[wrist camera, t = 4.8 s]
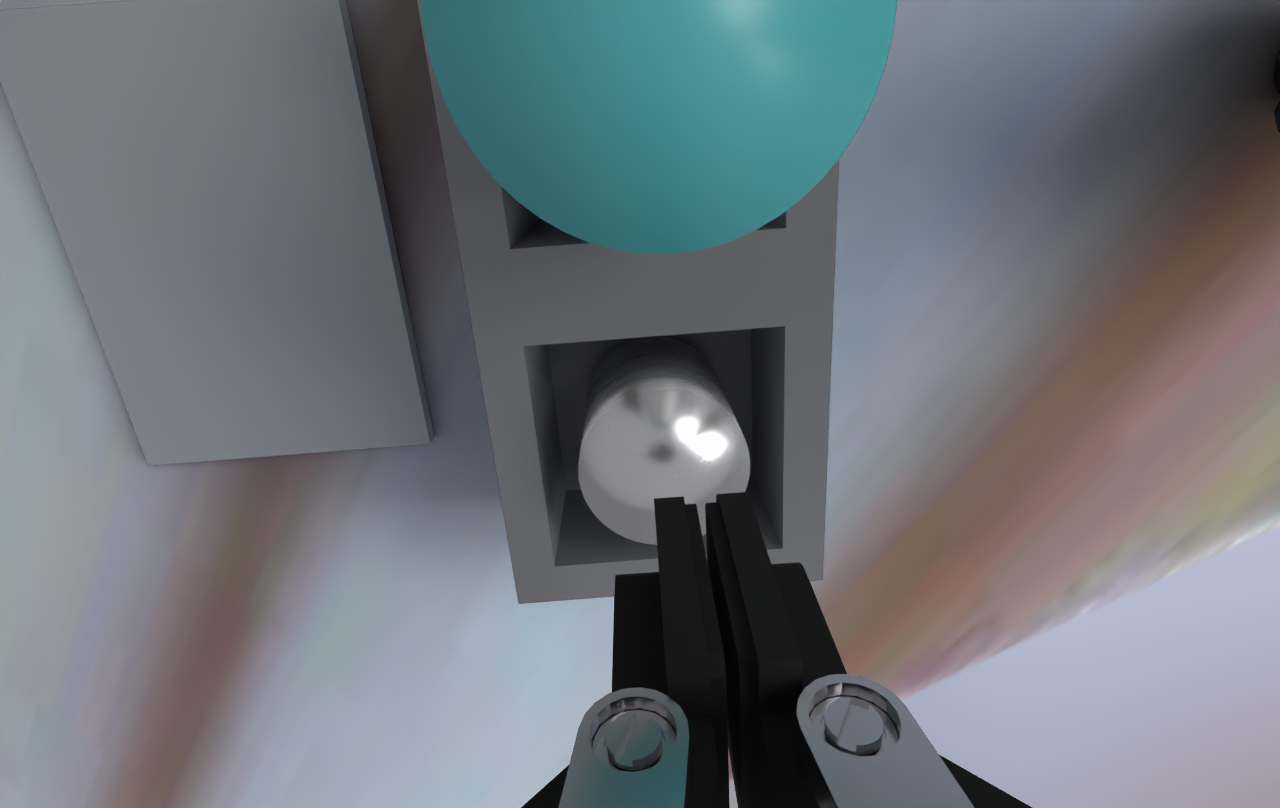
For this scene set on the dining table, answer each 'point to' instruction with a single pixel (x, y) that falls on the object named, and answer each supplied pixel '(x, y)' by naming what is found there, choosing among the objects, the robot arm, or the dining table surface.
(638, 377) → the silver metallic cylinder
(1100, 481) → the dining table surface
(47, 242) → the dining table surface
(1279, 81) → the filter
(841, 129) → the cylinder
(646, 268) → the housing
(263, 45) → the mat
